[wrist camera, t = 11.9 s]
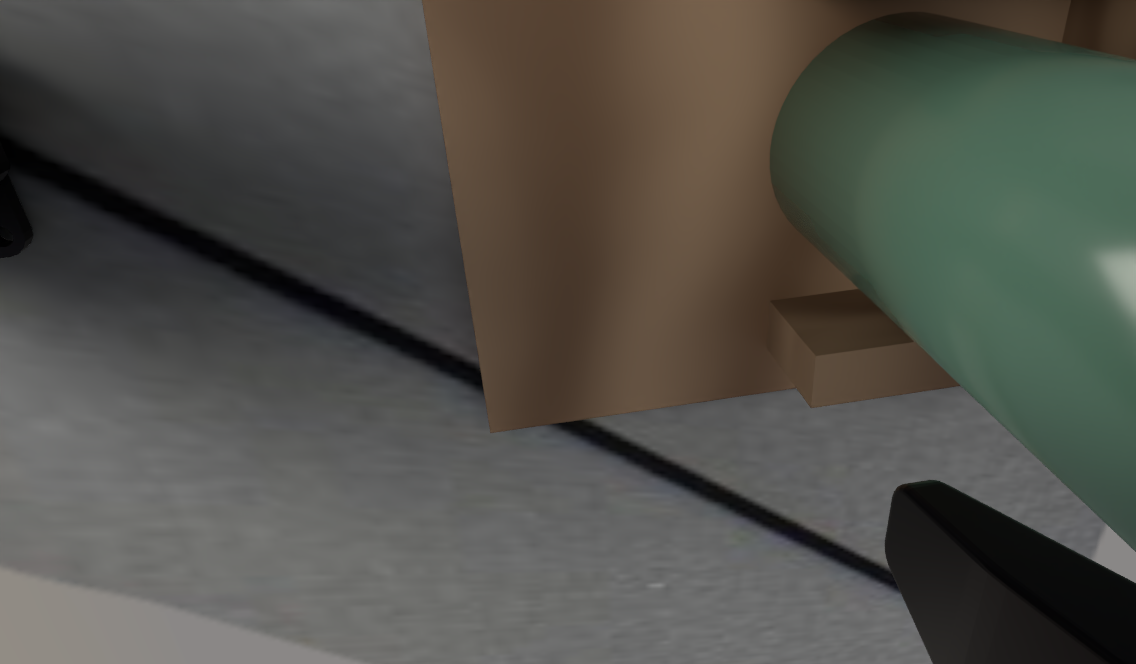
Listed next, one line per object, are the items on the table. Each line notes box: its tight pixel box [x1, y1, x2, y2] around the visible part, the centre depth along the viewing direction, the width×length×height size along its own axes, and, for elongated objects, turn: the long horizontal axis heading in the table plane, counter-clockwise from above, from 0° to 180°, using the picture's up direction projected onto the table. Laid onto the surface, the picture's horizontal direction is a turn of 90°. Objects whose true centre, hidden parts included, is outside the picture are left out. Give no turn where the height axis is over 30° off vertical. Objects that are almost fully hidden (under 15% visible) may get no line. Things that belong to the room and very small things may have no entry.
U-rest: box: [422, 0, 1136, 433], centre depth 18 cm, size 18×14×4 cm
